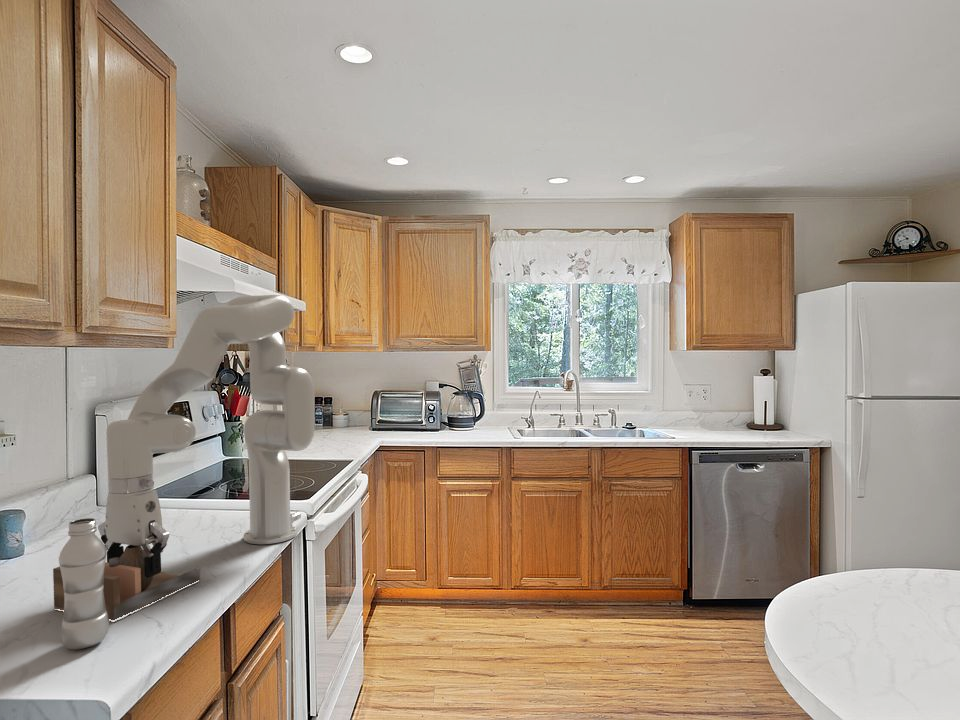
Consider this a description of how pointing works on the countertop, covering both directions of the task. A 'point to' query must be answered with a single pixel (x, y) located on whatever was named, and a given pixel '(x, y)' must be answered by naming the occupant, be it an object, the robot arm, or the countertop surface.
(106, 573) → the pusher plate
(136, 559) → the vase
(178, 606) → the countertop surface
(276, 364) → the robot arm
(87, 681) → the countertop surface
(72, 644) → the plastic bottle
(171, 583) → the pusher lane
